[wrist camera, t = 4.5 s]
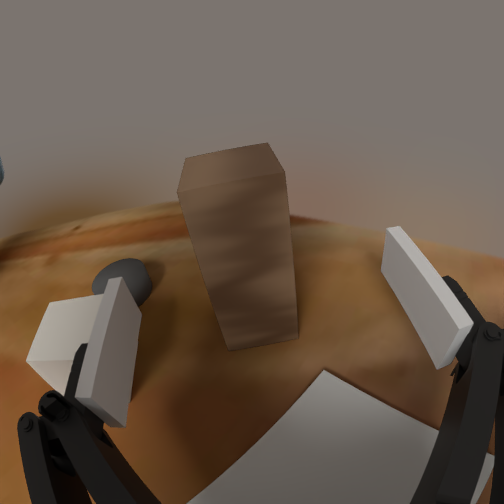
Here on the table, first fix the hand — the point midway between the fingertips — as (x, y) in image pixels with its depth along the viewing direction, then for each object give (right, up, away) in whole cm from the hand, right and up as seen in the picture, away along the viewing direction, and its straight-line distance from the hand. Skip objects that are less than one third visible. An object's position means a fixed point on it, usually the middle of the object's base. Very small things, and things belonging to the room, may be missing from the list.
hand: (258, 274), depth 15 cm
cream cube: (-11, -7, +4) cm, 13 cm away
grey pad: (+4, -11, -5) cm, 13 cm away
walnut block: (0, -4, +6) cm, 7 cm away
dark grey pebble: (-11, -3, +10) cm, 15 cm away
